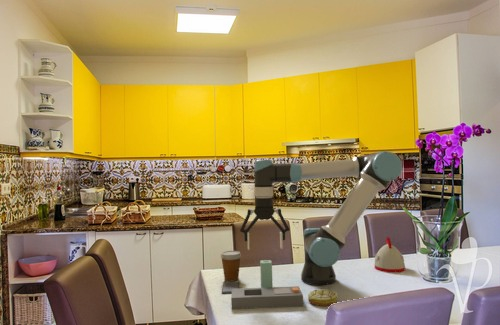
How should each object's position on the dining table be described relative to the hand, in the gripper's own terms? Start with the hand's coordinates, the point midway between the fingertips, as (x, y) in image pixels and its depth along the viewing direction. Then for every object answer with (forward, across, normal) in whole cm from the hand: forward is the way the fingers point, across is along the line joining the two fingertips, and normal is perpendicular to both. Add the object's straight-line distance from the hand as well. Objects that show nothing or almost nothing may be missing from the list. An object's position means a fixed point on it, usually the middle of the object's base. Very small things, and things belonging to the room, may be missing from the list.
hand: (265, 248), depth 148 cm
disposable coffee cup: (+18, +15, -18) cm, 29 cm away
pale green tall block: (+17, 0, 0) cm, 17 cm away
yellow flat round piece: (+18, -20, +14) cm, 30 cm away
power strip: (+17, +1, +13) cm, 22 cm away
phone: (+18, +15, -5) cm, 24 cm away
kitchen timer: (+17, -62, -26) cm, 70 cm away
